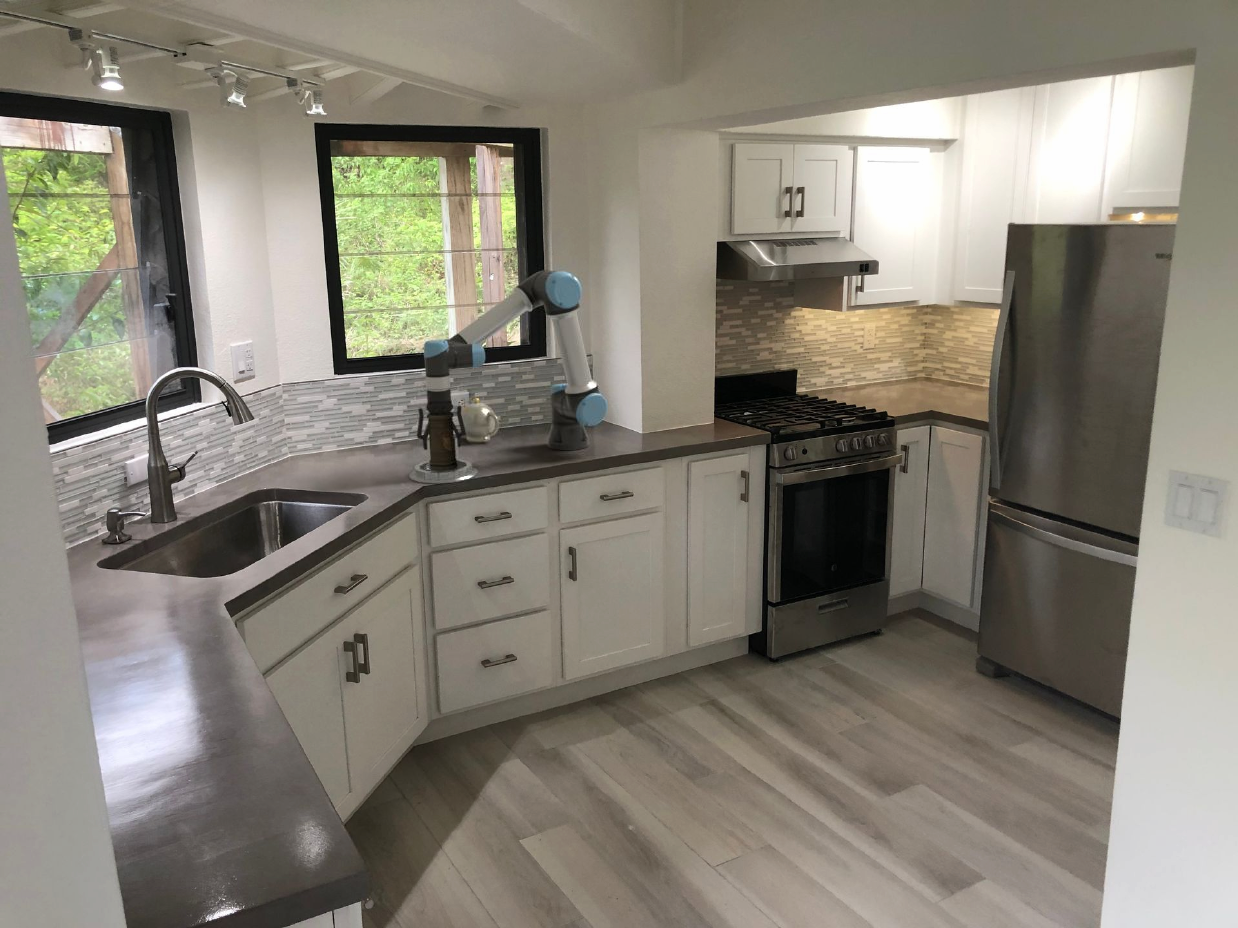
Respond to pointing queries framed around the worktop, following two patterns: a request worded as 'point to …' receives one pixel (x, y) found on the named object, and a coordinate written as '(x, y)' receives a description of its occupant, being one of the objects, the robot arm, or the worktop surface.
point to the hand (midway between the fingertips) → (442, 458)
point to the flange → (443, 473)
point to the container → (441, 442)
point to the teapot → (479, 422)
